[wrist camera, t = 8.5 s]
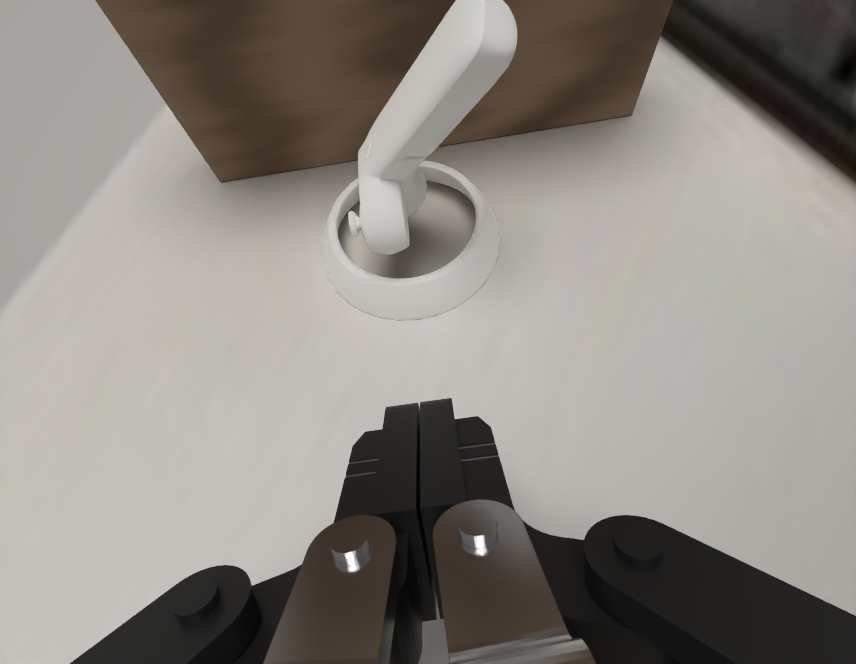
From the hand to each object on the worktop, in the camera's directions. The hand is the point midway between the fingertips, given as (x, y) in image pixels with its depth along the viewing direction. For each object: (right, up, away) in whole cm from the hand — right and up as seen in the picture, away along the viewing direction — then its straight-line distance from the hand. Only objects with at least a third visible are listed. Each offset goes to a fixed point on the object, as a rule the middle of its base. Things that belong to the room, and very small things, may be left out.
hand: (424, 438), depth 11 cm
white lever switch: (-1, +6, +10) cm, 11 cm away
